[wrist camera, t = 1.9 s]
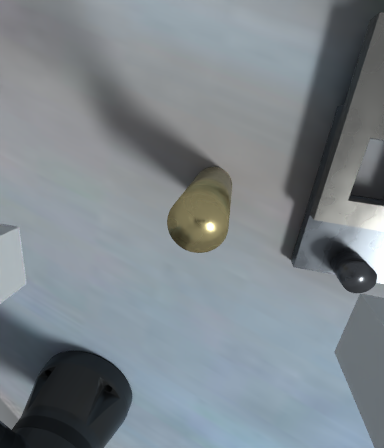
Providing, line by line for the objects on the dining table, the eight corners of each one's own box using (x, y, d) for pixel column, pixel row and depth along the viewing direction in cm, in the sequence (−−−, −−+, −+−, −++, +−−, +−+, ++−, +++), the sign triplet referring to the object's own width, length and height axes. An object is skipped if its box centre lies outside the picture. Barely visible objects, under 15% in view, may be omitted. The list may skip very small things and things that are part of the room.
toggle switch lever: (228, 206, 29) (222, 257, 18) (192, 200, 29) (164, 246, 18) (235, 170, 27) (233, 200, 16) (197, 164, 28) (170, 190, 16)
